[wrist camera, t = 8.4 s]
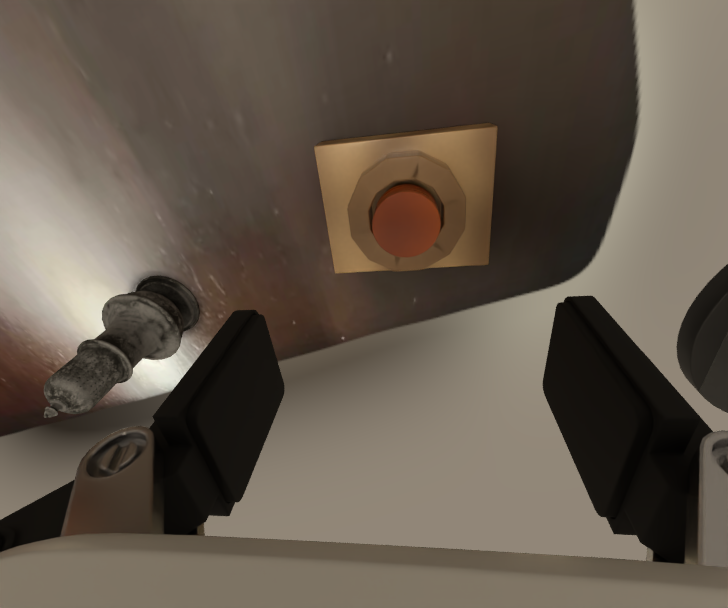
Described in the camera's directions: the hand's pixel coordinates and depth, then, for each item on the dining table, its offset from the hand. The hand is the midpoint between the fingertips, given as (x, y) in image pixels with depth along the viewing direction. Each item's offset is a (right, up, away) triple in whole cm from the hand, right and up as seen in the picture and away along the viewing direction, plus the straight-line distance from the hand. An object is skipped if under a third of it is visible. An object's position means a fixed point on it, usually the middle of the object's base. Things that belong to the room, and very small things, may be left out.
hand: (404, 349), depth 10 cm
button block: (+2, +8, +14) cm, 16 cm away
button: (+1, +6, +11) cm, 12 cm away
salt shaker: (-17, +1, +20) cm, 27 cm away
